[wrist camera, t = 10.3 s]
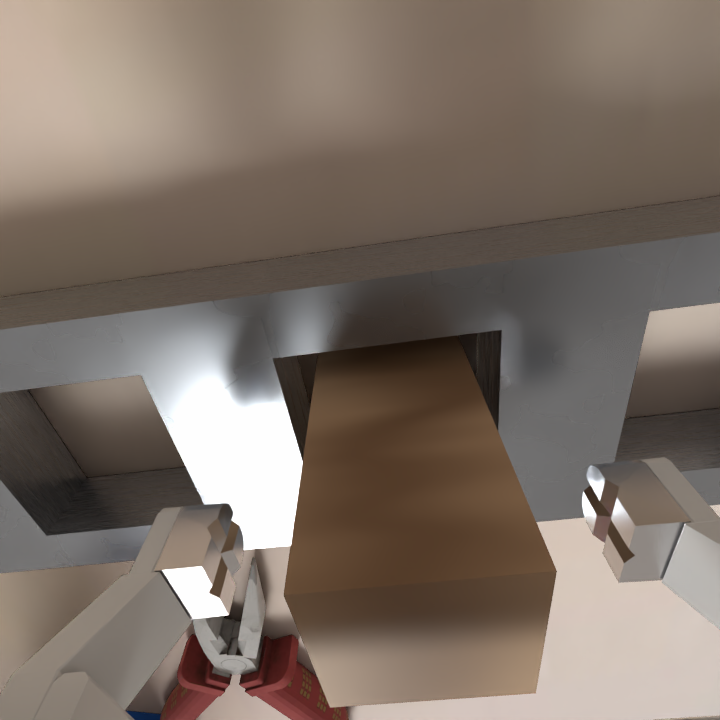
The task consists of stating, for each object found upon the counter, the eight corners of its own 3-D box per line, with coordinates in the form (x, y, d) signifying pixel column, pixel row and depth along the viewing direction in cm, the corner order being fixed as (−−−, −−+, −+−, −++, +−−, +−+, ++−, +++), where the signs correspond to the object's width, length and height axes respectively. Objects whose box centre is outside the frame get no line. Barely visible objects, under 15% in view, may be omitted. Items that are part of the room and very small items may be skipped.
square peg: (451, 320, 13) (556, 570, 6) (454, 422, 15) (535, 693, 8) (320, 337, 13) (283, 595, 6) (341, 434, 15) (330, 707, 9)
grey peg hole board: (972, 160, 11) (1125, 177, 9) (820, 433, 15) (895, 487, 13) (-133, 316, 13) (-231, 361, 11) (31, 515, 17) (-14, 574, 15)
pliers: (356, 538, 19) (355, 597, 17) (348, 723, 30) (347, 773, 28) (95, 532, 19) (59, 591, 17) (181, 720, 30) (166, 771, 27)
